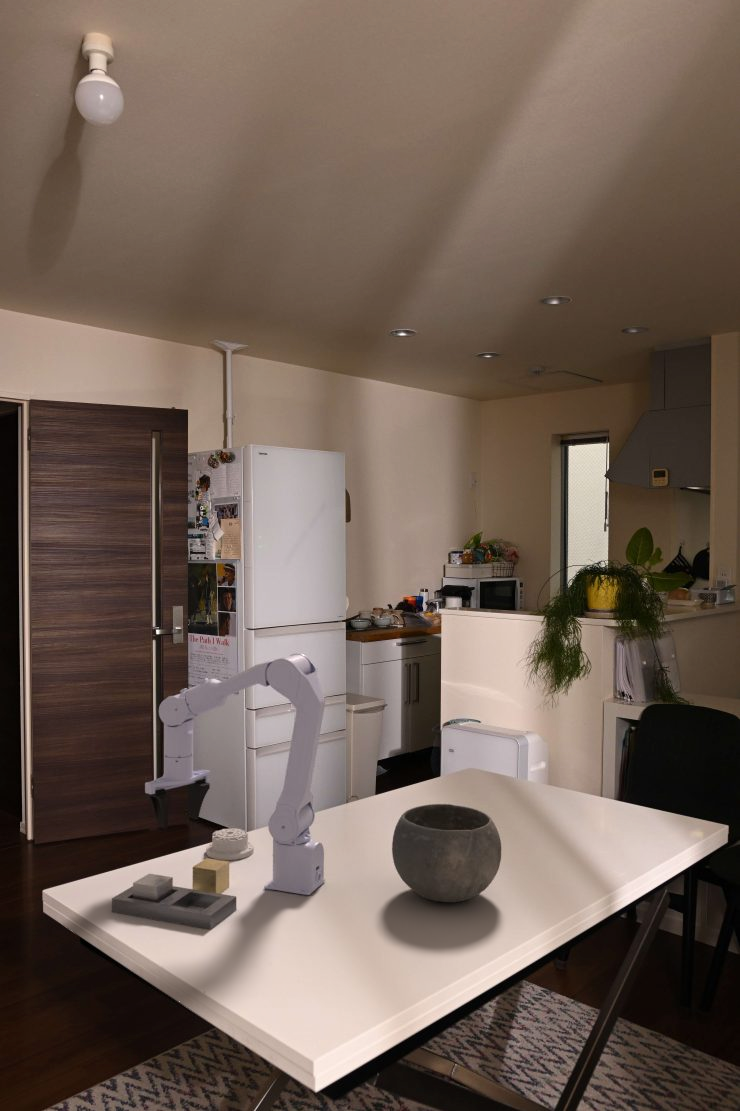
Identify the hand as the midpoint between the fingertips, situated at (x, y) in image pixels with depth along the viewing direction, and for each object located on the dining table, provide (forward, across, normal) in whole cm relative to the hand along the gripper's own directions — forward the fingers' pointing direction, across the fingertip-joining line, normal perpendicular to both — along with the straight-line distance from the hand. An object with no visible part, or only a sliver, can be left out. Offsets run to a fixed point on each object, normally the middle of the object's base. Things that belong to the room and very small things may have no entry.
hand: (178, 822), depth 180 cm
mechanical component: (+10, -14, -1) cm, 18 cm away
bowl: (+10, -26, +47) cm, 55 cm away
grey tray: (+10, +12, +15) cm, 22 cm away
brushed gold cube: (+10, +2, +12) cm, 16 cm away
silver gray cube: (+10, +14, +11) cm, 20 cm away
